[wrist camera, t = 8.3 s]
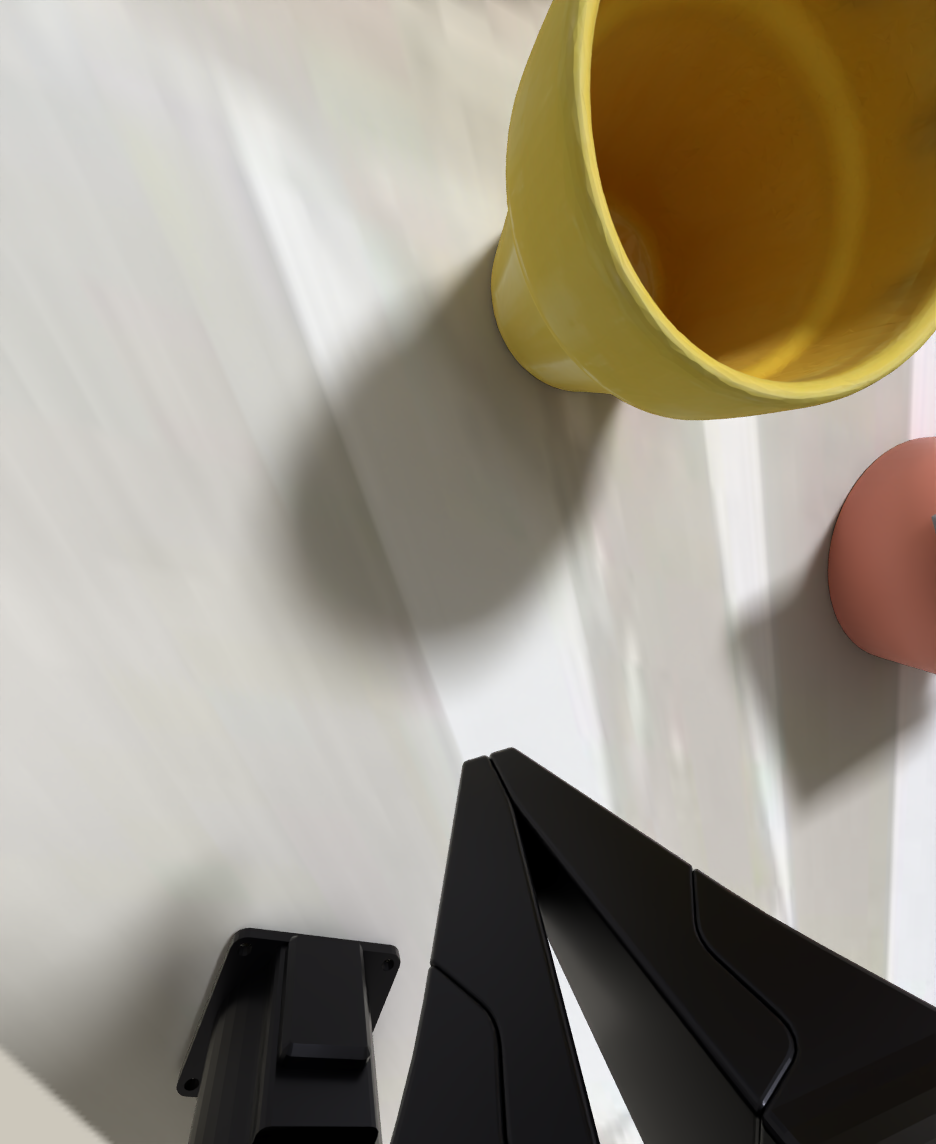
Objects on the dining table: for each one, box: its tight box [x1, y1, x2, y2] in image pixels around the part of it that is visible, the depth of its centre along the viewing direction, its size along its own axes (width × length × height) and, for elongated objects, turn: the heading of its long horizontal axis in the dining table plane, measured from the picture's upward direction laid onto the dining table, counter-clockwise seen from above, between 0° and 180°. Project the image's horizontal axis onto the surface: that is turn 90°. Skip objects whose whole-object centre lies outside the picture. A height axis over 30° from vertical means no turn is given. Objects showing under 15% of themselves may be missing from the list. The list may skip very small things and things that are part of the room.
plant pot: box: [491, 0, 936, 420], centre depth 14 cm, size 10×10×10 cm
